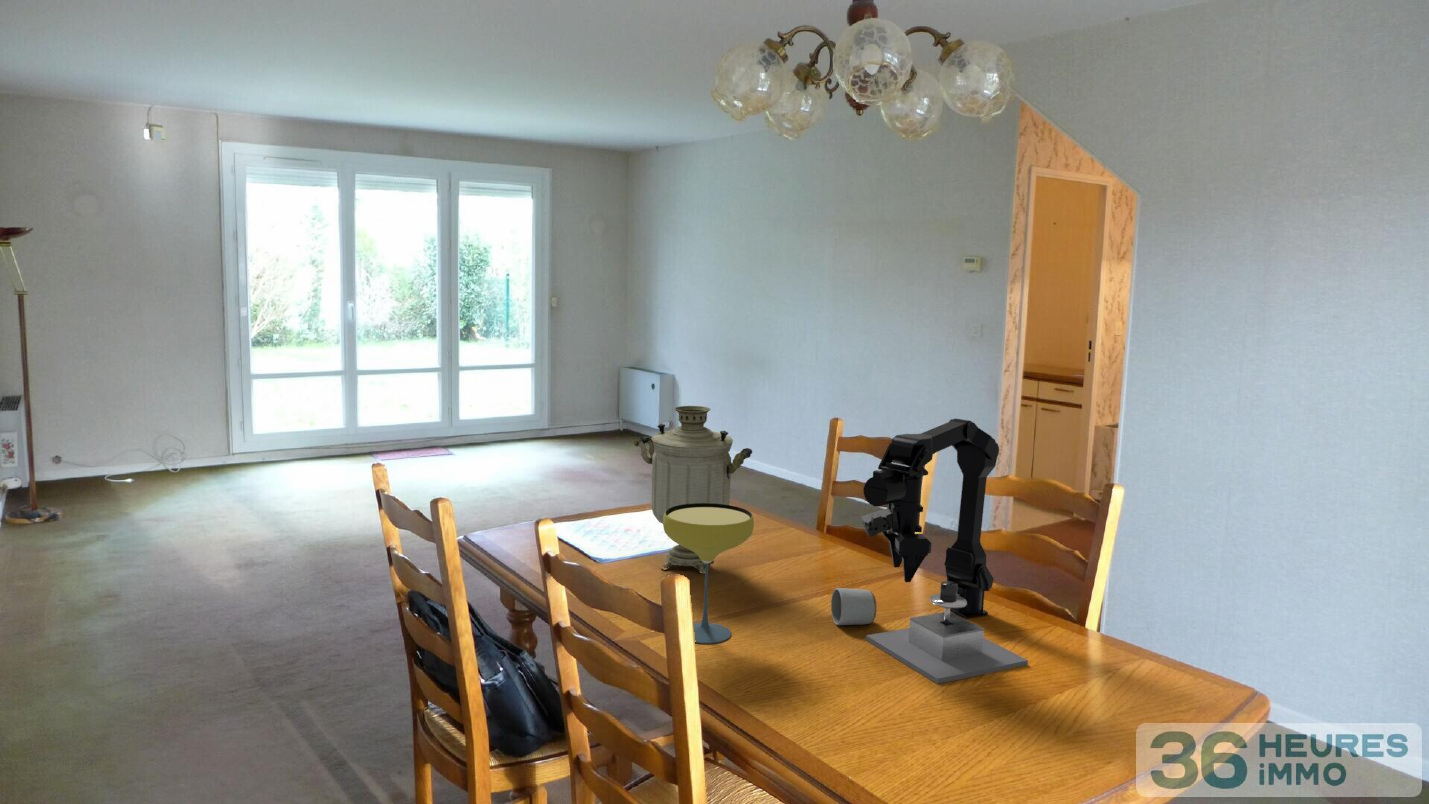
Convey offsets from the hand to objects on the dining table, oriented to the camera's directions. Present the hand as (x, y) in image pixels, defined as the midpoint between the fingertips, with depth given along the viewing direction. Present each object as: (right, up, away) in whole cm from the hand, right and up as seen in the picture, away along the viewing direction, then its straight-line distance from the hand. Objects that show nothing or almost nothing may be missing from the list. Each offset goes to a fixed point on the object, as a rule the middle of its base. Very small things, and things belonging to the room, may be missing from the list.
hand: (901, 574), depth 185 cm
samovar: (-43, -6, +47) cm, 64 cm away
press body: (+8, -15, -4) cm, 17 cm away
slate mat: (+8, -15, -4) cm, 17 cm away
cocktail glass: (-40, -12, +1) cm, 42 cm away
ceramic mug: (-9, -12, +11) cm, 19 cm away
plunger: (+8, -9, -5) cm, 13 cm away
